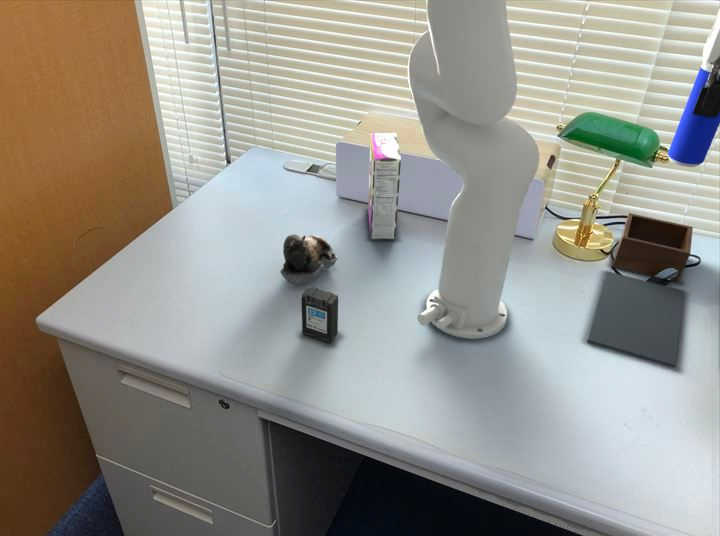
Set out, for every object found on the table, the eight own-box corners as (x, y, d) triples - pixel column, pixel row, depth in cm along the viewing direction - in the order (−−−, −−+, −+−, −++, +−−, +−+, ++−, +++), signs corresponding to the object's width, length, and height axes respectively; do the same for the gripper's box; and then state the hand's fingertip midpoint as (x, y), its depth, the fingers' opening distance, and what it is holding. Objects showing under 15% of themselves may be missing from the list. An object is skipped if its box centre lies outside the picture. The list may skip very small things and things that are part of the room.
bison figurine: (309, 253, 113) (308, 203, 107) (344, 263, 110) (345, 213, 104) (274, 288, 105) (271, 236, 99) (311, 300, 102) (310, 248, 96)
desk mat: (674, 367, 90) (675, 365, 89) (586, 342, 94) (587, 339, 94) (682, 292, 104) (683, 290, 103) (605, 273, 108) (606, 271, 108)
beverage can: (706, 169, 95) (749, 69, 86) (670, 166, 96) (709, 66, 87) (697, 155, 99) (737, 58, 90) (662, 152, 100) (699, 55, 91)
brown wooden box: (677, 283, 106) (690, 253, 102) (612, 266, 110) (622, 237, 106) (680, 255, 112) (693, 226, 109) (619, 241, 116) (628, 212, 112)
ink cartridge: (301, 335, 95) (300, 293, 90) (308, 326, 97) (308, 285, 92) (330, 345, 93) (331, 303, 89) (337, 336, 95) (338, 294, 90)
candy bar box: (366, 210, 125) (370, 131, 115) (391, 210, 125) (397, 132, 115) (368, 240, 116) (373, 158, 106) (395, 240, 116) (402, 158, 106)
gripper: (726, -41, 89) (679, 87, 100) (727, -20, 77) (673, 123, 88) (787, -35, 86) (732, 95, 97) (798, -13, 74) (734, 134, 85)
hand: (705, 107), depth 93 cm, fingers closed on beverage can, 5 cm apart
